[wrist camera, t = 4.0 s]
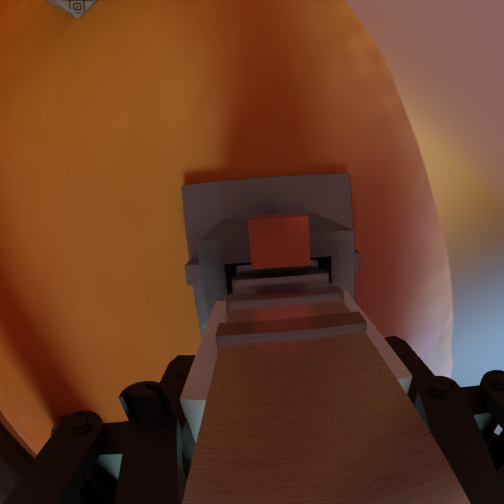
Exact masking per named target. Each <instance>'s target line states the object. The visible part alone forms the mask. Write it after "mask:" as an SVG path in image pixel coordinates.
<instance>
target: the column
mask: <svg viewBox="0 0 504 504" xmlns="http://www.w3.org/2000/svg"><path fill="white" fill-rule="evenodd" d="M236 270H237V275H233V278H232V288H233V294H228V295H227V298H226V301H225V304H226V312H227V319H226V323H219V325H218V328H217V331H216V335H215V337H216V344H217V350H218V355H217V359H216V363H215V367H214V371H213V375H212V379H211V383H210V388H209V392H208V396H207V400H206V404H205V408H204V412H203V416H202V420H201V425H200V429H199V433H198V437H197V441H196V445H195V450H194V454H193V458H192V462H191V467H190V471H189V475H188V479H187V484H186V488H185V492H184V496H183V501H182V504H471V503H470V502H469V500H468V498H467V496H466V494H465V492H464V490H463V488H462V486H461V485H460V483H459V481H458V479H457V477H456V475H455V474H454V472H453V470H452V468H451V467H450V465H449V463H448V461H447V459H446V458H445V456H444V454H443V453H442V451H441V449H440V447H439V446H438V444H437V442H436V441H435V439H434V437H433V436H432V434H431V432H430V431H429V429H428V427H427V426H426V424H425V422H424V421H423V419H422V418H421V416H420V414H419V413H418V411H417V410H416V408H415V406H414V405H413V403H412V402H411V400H410V399H409V397H408V395H407V394H406V392H405V391H404V389H403V388H402V386H401V385H400V383H399V381H398V380H397V378H396V377H395V375H394V374H393V372H392V371H391V369H390V368H389V366H388V365H387V363H386V362H385V360H384V359H383V357H382V356H381V354H380V353H379V351H378V350H377V349H376V347H375V346H374V344H373V343H372V341H371V340H370V338H369V337H368V335H367V334H366V330H367V321H366V320H365V319H364V317H363V316H362V315H361V314H360V312H359V311H357V312H351V311H350V310H349V308H348V307H347V306H346V304H345V303H344V292H343V291H342V289H341V288H340V287H339V286H332V285H331V284H330V282H329V273H328V272H327V271H326V269H325V268H324V269H319V267H318V259H317V258H316V257H315V258H310V265H304V266H291V267H278V268H264V269H252V268H251V262H248V263H237V265H236Z"/></svg>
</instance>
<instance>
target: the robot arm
mask: <svg viewBox="0 0 504 504" xmlns="http://www.w3.org/2000/svg"><path fill="white" fill-rule="evenodd" d="M343 292H344V303H345V304H346V306H347V307H348V308H349V310H350V311H351V312H357V311H359V312H360V314H361V315H362V316H363V317H364V319H365V320H366V321H367V330H366V334H367V335H368V337H369V338H370V340H371V341H372V343H373V344H374V346H375V347H376V349H377V350H378V351H379V353H380V354H381V356H382V357H383V359H384V360H385V362H386V363H387V365H388V366H389V368H390V369H391V371H392V372H393V374H394V375H395V377H396V378H397V380H398V381H399V383H400V385H401V386H402V388H403V389H404V391H405V392H406V394H407V395H408V397H409V399H410V400H411V402H412V403H413V405H414V406H415V408H416V410H417V411H418V413H419V414H420V416H421V418H422V419H423V421H424V422H425V424H426V426H427V427H428V429H429V431H430V432H431V434H432V436H433V437H434V439H435V441H436V442H437V444H438V446H439V447H440V449H441V451H442V453H443V454H444V456H445V458H446V459H447V461H448V463H449V465H450V467H451V468H452V470H453V472H454V474H455V475H456V477H457V479H458V481H459V483H460V485H461V486H462V488H463V490H464V492H465V494H466V496H467V498H468V500H469V502H470V503H471V504H504V371H501V370H492V371H489V372H487V373H486V374H484V376H483V378H482V380H481V383H480V385H478V386H470V387H459V385H458V384H457V383H456V382H455V381H454V380H452V379H450V378H448V377H444V376H435V375H434V374H433V373H432V372H431V371H430V369H429V368H428V367H427V366H426V365H425V363H424V362H423V361H422V360H421V359H420V358H419V356H418V357H417V354H416V353H415V352H414V351H413V350H412V348H411V347H410V346H409V345H408V344H407V343H406V341H404V340H402V339H400V338H398V337H396V336H391V337H386V338H383V336H382V335H381V334H380V332H379V331H378V330H377V329H376V327H375V326H374V325H373V324H372V322H371V321H370V320H369V318H368V317H367V316H366V315H365V313H364V312H363V311H362V310H361V308H360V307H359V306H358V305H357V303H356V302H355V301H354V300H353V299H352V297H351V296H350V295H349V294H348V292H347V291H343ZM226 319H227V312H226V304H225V301H216V303H215V305H214V308H213V311H212V313H211V316H210V318H209V321H208V324H207V326H206V329H205V332H204V334H203V337H202V340H201V342H200V345H199V348H198V350H197V353H196V355H178V356H177V357H176V358H175V359H173V360H172V361H171V362H170V363H169V365H168V367H167V369H166V371H165V373H164V375H163V377H162V381H160V383H158V382H154V381H144V382H138V383H135V384H133V385H130V386H128V387H127V388H126V389H124V390H123V391H122V392H121V394H120V396H119V399H120V401H121V404H122V406H123V408H124V411H125V413H126V415H127V417H128V419H129V421H124V422H113V423H103V421H102V419H101V418H100V416H99V415H98V414H96V413H94V412H92V411H78V412H75V413H73V414H71V415H69V416H63V417H60V418H59V419H58V420H57V422H56V423H55V424H54V426H53V427H52V430H51V437H50V439H49V440H48V441H47V443H46V444H45V445H44V447H43V448H42V449H41V451H40V452H39V453H38V455H37V456H36V457H35V458H34V457H33V456H32V455H31V454H30V453H29V452H28V451H27V450H26V449H25V448H24V447H23V446H22V445H21V444H20V443H19V442H18V440H17V439H16V438H15V437H14V436H13V435H12V434H11V433H10V432H9V431H8V430H7V428H6V427H5V426H4V425H3V424H2V422H1V421H0V504H182V501H183V496H184V492H185V488H186V484H187V479H188V475H189V471H190V467H191V462H192V458H193V454H194V450H195V445H196V441H197V437H198V433H199V429H200V425H201V420H202V416H203V412H204V408H205V404H206V400H207V396H208V392H209V388H210V383H211V379H212V375H213V371H214V367H215V363H216V359H217V355H218V350H217V344H216V337H215V335H216V331H217V328H218V325H219V323H226ZM498 424H499V425H500V427H502V429H503V430H502V432H501V433H500V435H497V434H495V433H494V431H495V429H496V427H497V426H498Z"/></svg>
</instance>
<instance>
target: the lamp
mask: <svg viewBox="0 0 504 504" xmlns="http://www.w3.org/2000/svg"><path fill="white" fill-rule="evenodd" d="M45 1H47V2H48V3H49V4H51V5H52V6H54V7H56V8H58V9H60V10H62V11H64V12H66V13H68V14H70V15H72V16H74V17H76V18H80V17H81V16H82V15H83V14H84V12H85V11H86V10H87V9H88V8H89V7H90V6H91V5H92V4H93V3H94V2H95V1H96V0H45Z"/></svg>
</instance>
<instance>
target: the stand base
mask: <svg viewBox="0 0 504 504" xmlns="http://www.w3.org/2000/svg"><path fill="white" fill-rule="evenodd" d="M182 197H183V207H184V217H185V226H186V235H187V243H188V252H189V259H190V261H189V262H188V263H187V264H186V265H185V272H186V279H187V285H193V288H194V295H195V302H196V308H197V314H198V320H199V326H200V332H201V338H202V337H203V334H204V332H205V329H206V326H207V324H208V321H209V318H210V316H211V313H212V311H213V308H214V305H215V303H216V301H226V298H227V295H228V294H233V288H232V278H233V275H237V270H236V265H237V263H248V262H251V268H252V269H264V268H278V267H291V266H304V265H310V258H315V257H316V258H317V259H318V267H319V269H324V268H325V269H326V271H327V272H328V273H329V282H330V284H331V285H332V286H339V287H340V288H341V289H342V291H347V292H348V294H349V295H350V296H351V297H352V299H353V300H354V273H358V272H360V252H358V251H357V250H355V246H354V230H353V229H352V203H351V185H350V174H315V175H293V176H276V177H261V178H249V179H237V180H226V181H217V182H207V183H198V184H190V185H182Z"/></svg>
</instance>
